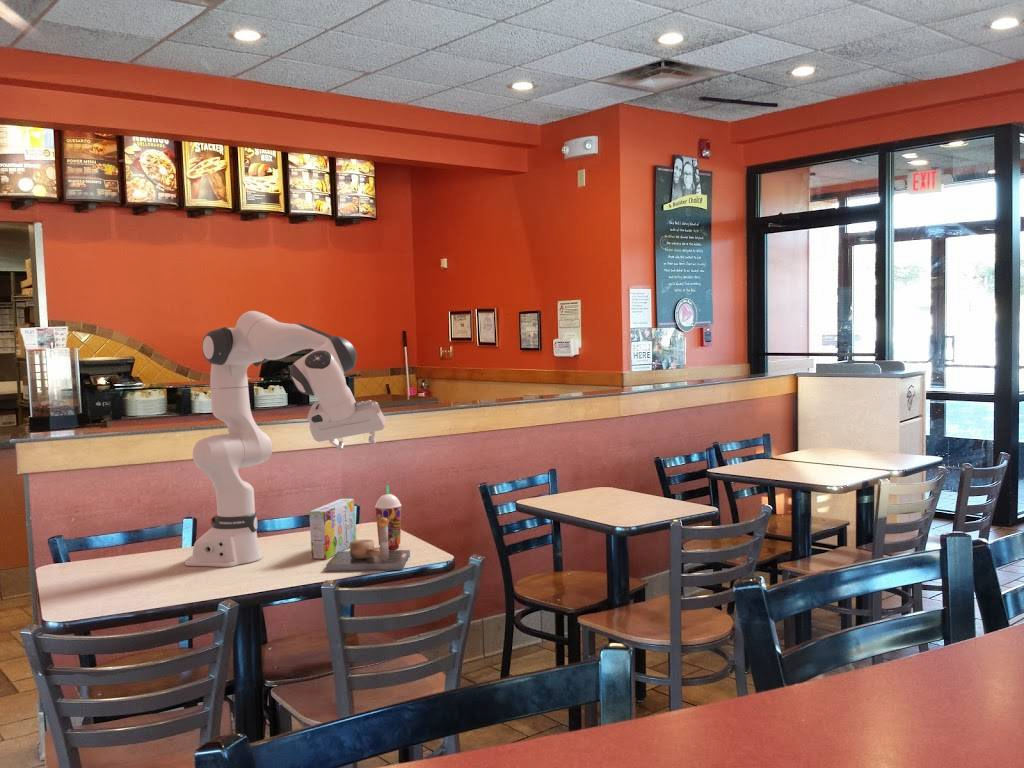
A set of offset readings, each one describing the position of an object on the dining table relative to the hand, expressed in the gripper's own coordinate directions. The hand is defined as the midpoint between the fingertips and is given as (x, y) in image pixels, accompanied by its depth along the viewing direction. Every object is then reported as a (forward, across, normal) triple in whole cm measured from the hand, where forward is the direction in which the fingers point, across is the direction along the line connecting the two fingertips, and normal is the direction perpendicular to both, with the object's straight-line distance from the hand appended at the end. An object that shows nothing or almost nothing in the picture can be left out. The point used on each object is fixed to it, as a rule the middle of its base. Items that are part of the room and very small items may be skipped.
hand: (357, 445), depth 248 cm
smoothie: (+51, +10, -12) cm, 53 cm away
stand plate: (+40, +10, +5) cm, 41 cm away
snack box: (+46, +26, -9) cm, 53 cm away
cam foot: (+37, +8, +6) cm, 38 cm away
